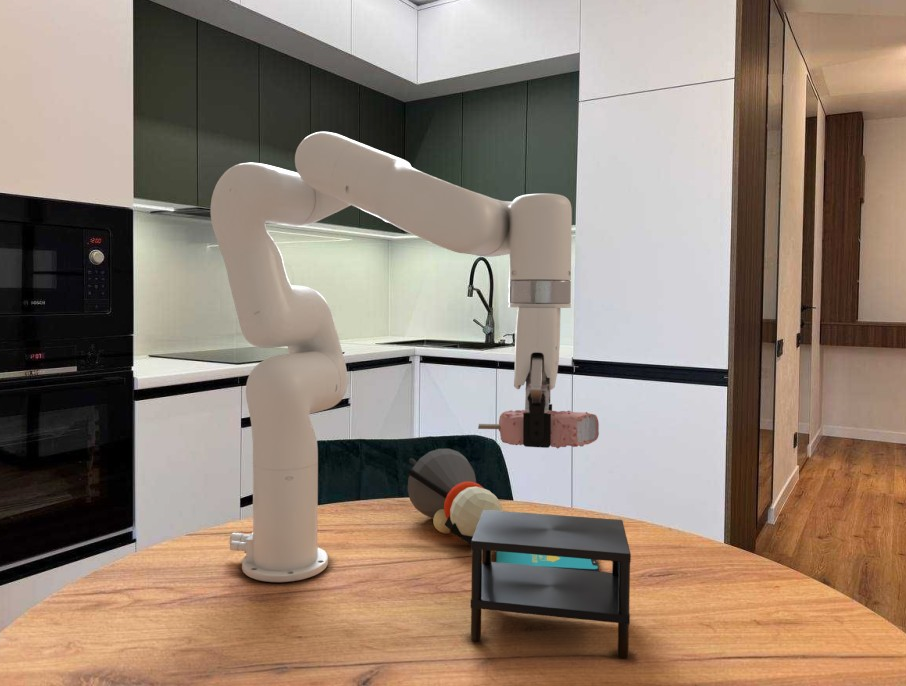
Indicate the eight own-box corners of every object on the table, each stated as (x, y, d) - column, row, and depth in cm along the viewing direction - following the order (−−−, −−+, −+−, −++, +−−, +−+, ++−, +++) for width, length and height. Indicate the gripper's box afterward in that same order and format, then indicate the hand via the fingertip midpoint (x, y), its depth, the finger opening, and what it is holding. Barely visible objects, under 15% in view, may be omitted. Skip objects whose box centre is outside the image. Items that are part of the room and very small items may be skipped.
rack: (470, 641, 82) (471, 540, 81) (482, 597, 94) (483, 509, 93) (629, 659, 78) (630, 554, 78) (620, 611, 90) (622, 519, 89)
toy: (367, 476, 133) (422, 538, 104) (401, 417, 134) (464, 463, 106) (438, 512, 138) (508, 580, 110) (470, 455, 140) (547, 508, 112)
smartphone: (496, 545, 110) (593, 550, 108) (496, 550, 110) (593, 555, 108) (495, 564, 103) (599, 569, 101) (495, 569, 103) (599, 575, 101)
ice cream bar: (480, 406, 90) (596, 408, 88) (480, 439, 90) (596, 441, 88) (476, 413, 84) (601, 415, 82) (476, 448, 84) (601, 451, 82)
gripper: (514, 295, 95) (512, 426, 95) (502, 295, 78) (501, 454, 78) (570, 295, 93) (568, 428, 94) (571, 296, 76) (569, 458, 77)
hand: (538, 439), depth 86 cm, fingers closed on ice cream bar, 6 cm apart
